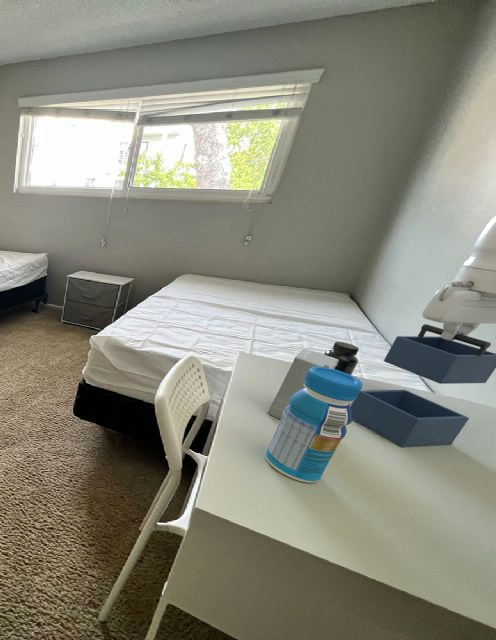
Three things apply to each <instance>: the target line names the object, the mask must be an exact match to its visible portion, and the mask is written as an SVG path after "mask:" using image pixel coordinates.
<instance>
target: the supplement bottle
mask: <svg viewBox="0 0 496 640" xmlns="http://www.w3.org/2000/svg"><path fill="white" fill-rule="evenodd" d="M359 350H360V348H359V347H358V346H356V345H354V344H351V343H348V342H344V341H335V342H334V344H333V346H332V347H331V349H328V350H326V351H325V352H324V353H323V354H324V355H326V356H329V357H333V358H336V359H338V360H339V361H338V363H337V365H336V367H335V369H334V370H338V371H341V372H344V373H347V374H349V375H351V376H353V373H354V371H355V369H356V368H357V365H358V363H359V359H358V357H356V356H357V355H358V352H359Z"/></svg>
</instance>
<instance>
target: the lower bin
mask: <svg viewBox="0 0 496 640" xmlns="http://www.w3.org/2000/svg"><path fill="white" fill-rule="evenodd" d="M350 407H351V410H352V421H354V422H356V423H358V424H359V425H361V426H363V427H365V428H367V429H368V430H370V431H371V432H373V433H376V434H377V435H379V436H381V437H382V438H384V439H386V440H387V441H390V442H391V443H393V444H395V445H397V446H398V447H399V448H400V447H401V448H413V447H414V448H417V447H435V446H452V444H453V443H454V441H455V440H456V438H457V437H458V436H459V434H460V433H461V431H462V430H463V429H464V427H465V425H466V424H467V422H468V421H469V419H470V417H468V416H466V415H464V414H462V413H459V412H457V411H455V410H452V409H450V408H448V407H445V406H444V405H441V404H439V403H437V402H434V401H432V400H430V399H427V398H425V397H423V396H420V395H418V394H416V393H414V392H412V391H409V390H408V389H377V390H376V389H375V390H373V389H372V390H361V391H360V393H359V394H358V396H357V398H356V399H355V400H354V401H353V402H351V404H350Z"/></svg>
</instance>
